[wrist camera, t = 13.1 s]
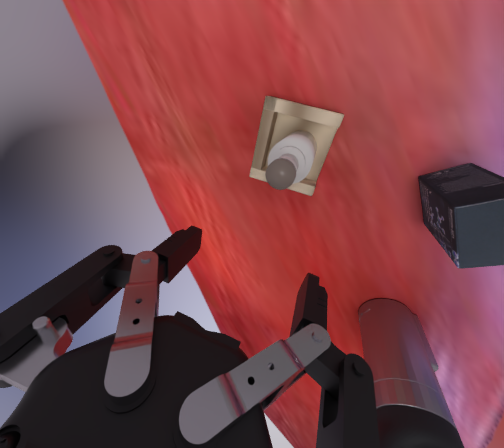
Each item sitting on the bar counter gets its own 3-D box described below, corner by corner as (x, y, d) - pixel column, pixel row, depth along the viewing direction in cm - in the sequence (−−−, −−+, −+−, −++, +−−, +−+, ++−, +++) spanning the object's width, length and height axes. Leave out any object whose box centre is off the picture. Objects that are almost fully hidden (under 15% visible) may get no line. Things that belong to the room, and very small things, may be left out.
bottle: (322, 135, 29) (315, 156, 17) (309, 169, 32) (297, 206, 20) (288, 126, 30) (260, 140, 18) (279, 160, 32) (250, 191, 21)
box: (416, 176, 28) (454, 207, 20) (471, 161, 26) (543, 190, 17) (422, 224, 31) (458, 270, 22) (473, 215, 29) (535, 264, 20)
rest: (342, 113, 28) (344, 114, 25) (313, 188, 34) (311, 196, 31) (272, 96, 29) (265, 95, 26) (256, 170, 35) (249, 176, 32)
